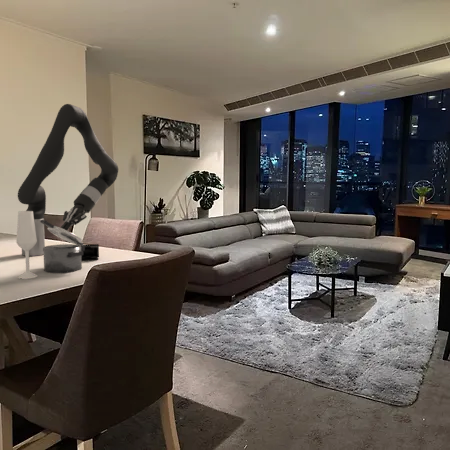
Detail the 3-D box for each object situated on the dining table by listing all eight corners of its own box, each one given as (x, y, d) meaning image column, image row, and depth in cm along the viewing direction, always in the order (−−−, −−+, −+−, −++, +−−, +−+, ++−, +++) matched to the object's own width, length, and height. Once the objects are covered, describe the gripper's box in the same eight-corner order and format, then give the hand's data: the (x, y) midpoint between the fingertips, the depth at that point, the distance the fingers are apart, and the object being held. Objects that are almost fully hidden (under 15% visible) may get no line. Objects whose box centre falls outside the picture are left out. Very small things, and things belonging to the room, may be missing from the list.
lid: (68, 243, 170) (69, 240, 171) (88, 246, 162) (90, 244, 162) (31, 221, 156) (33, 218, 157) (51, 223, 148) (53, 221, 149)
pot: (68, 262, 174) (67, 242, 173) (96, 268, 162) (96, 246, 161) (33, 268, 161) (32, 246, 160) (61, 275, 150) (60, 251, 149)
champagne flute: (30, 273, 152) (28, 210, 150) (41, 276, 149) (39, 211, 146) (13, 277, 146) (11, 211, 144) (24, 279, 143) (22, 212, 141)
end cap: (98, 257, 187) (98, 243, 187) (99, 260, 181) (99, 245, 180) (75, 258, 184) (75, 244, 183) (76, 261, 177) (75, 246, 176)
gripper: (72, 192, 169) (46, 223, 161) (91, 193, 162) (65, 226, 153) (83, 204, 174) (58, 235, 166) (103, 206, 167) (78, 238, 158)
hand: (62, 231), depth 159 cm, fingers closed
